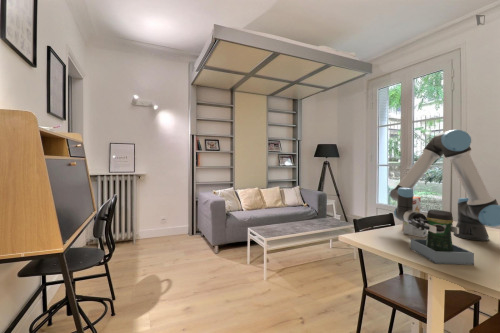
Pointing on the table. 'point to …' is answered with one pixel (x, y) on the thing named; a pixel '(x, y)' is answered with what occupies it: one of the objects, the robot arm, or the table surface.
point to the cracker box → (415, 205)
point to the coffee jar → (440, 230)
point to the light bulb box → (414, 230)
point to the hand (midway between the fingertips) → (446, 230)
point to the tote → (442, 253)
